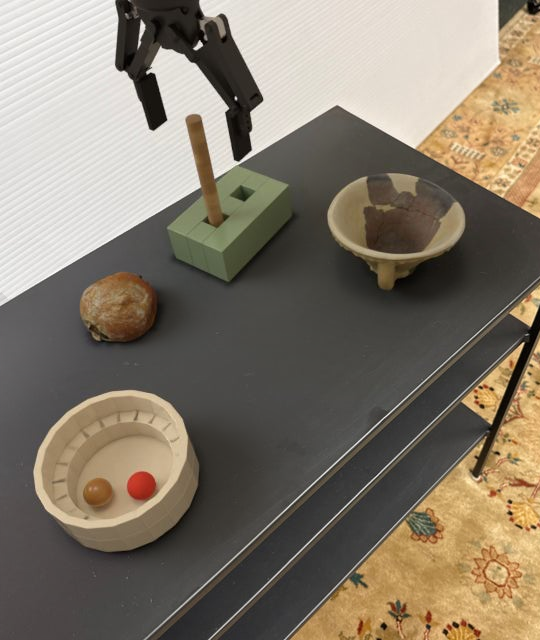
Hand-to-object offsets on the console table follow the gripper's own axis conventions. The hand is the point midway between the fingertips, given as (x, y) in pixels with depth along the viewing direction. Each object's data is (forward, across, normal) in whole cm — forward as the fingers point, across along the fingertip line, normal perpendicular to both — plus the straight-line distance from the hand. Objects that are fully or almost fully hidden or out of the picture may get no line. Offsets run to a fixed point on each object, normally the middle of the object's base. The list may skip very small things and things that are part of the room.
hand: (199, 139), depth 80 cm
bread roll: (+19, +4, +17) cm, 26 cm away
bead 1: (+17, -13, +38) cm, 43 cm away
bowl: (+19, -23, -10) cm, 31 cm away
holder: (+19, 0, -3) cm, 19 cm away
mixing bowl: (+19, -14, +35) cm, 42 cm away
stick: (+19, 0, 0) cm, 19 cm away
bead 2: (+17, -16, +35) cm, 42 cm away
